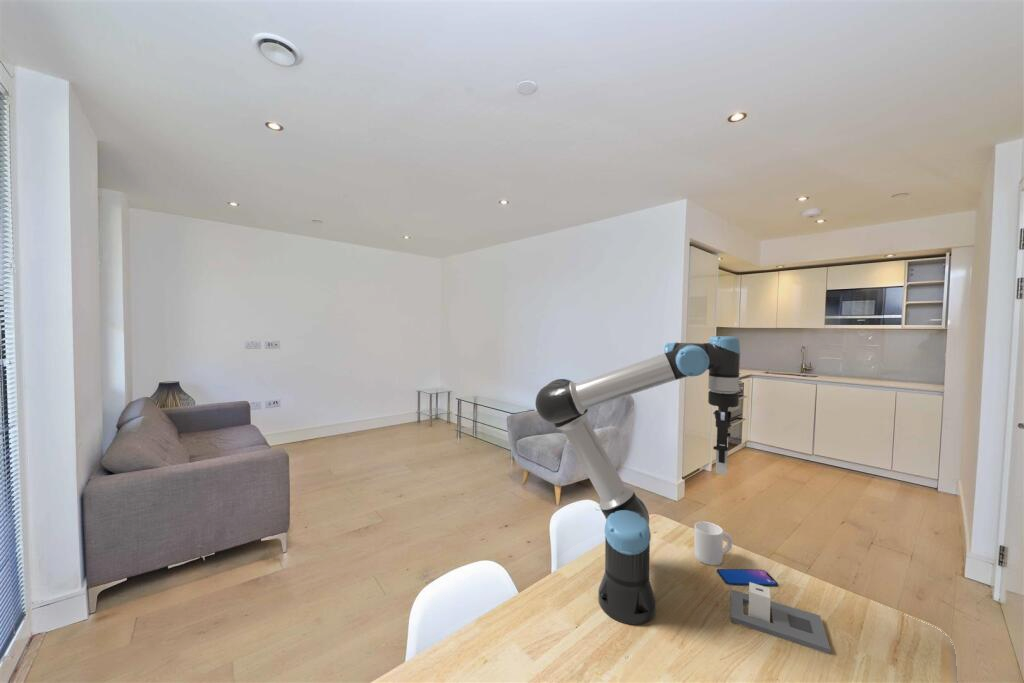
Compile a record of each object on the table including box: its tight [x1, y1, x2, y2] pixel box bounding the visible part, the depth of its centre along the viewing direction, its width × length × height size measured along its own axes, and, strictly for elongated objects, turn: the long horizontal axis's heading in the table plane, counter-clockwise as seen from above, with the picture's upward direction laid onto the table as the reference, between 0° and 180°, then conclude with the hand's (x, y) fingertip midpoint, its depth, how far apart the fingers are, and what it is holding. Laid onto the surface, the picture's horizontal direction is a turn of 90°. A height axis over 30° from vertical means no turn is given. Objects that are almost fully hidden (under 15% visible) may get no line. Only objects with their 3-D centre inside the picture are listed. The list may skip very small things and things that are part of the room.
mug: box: [693, 521, 733, 567], centre depth 125 cm, size 12×8×10 cm
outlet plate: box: [730, 588, 831, 655], centre depth 99 cm, size 20×12×1 cm, turn 60°
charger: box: [748, 582, 771, 623], centre depth 101 cm, size 4×4×7 cm
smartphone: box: [716, 568, 779, 588], centre depth 116 cm, size 7×1×15 cm
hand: (721, 465), depth 108 cm, fingers open, 13 cm apart
